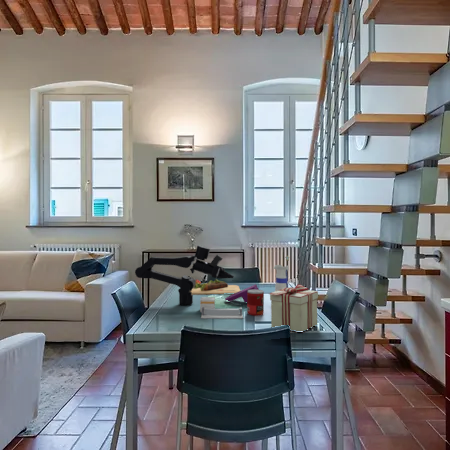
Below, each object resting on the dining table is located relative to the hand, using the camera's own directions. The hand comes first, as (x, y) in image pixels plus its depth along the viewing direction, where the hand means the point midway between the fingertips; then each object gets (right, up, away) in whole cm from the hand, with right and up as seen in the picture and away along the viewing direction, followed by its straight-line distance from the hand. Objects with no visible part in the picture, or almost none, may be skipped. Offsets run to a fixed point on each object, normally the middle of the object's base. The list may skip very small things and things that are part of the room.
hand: (232, 277), depth 200 cm
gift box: (+24, -16, -35) cm, 46 cm away
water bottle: (+27, -15, +15) cm, 34 cm away
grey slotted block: (-13, -15, -9) cm, 22 cm away
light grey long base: (-5, -15, -19) cm, 25 cm away
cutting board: (-12, -15, +41) cm, 45 cm away
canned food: (+10, -16, -15) cm, 24 cm away
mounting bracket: (+5, -15, +9) cm, 19 cm away
